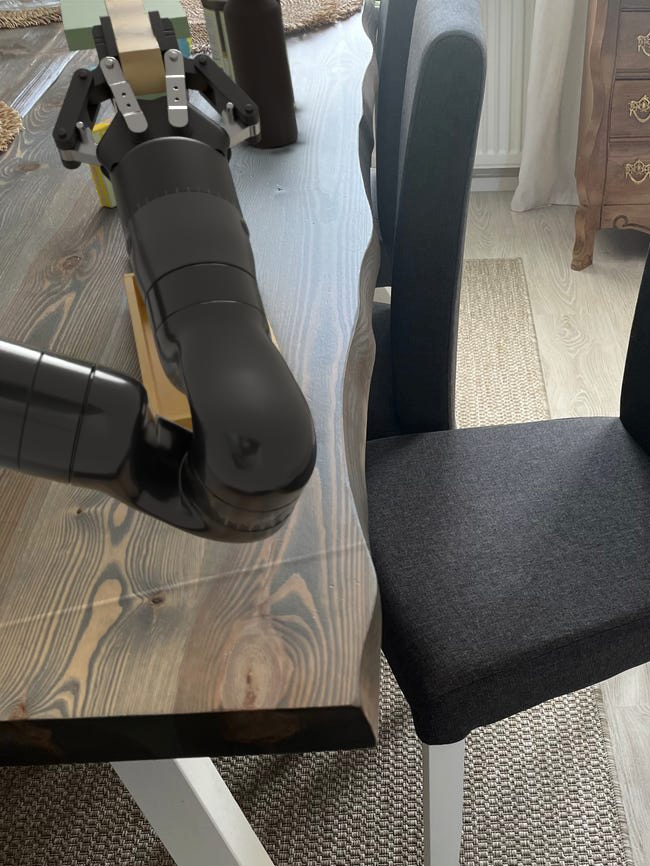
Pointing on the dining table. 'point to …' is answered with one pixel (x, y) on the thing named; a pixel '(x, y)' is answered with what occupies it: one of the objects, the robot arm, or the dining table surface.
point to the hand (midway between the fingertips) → (131, 24)
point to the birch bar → (137, 46)
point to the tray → (157, 361)
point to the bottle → (262, 66)
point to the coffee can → (224, 36)
